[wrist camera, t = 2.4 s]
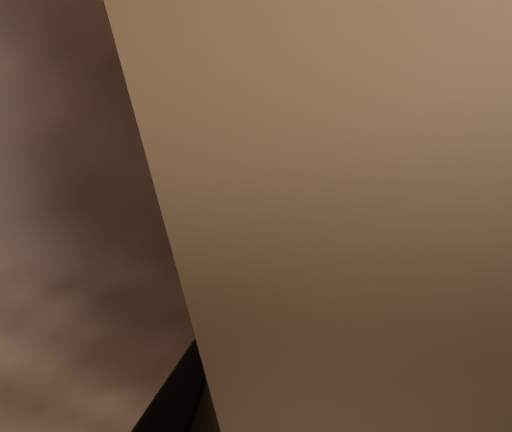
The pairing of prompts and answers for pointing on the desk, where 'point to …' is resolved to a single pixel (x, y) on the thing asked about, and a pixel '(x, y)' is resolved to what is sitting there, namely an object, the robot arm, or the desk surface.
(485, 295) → the rail
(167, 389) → the robot arm
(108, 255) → the desk surface
